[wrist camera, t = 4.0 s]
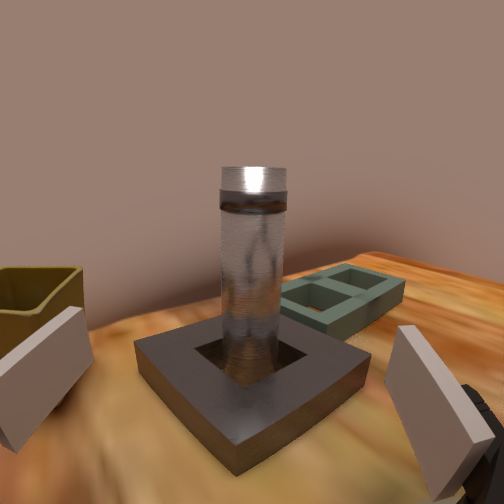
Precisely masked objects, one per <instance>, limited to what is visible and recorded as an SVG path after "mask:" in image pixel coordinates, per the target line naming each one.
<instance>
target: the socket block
mask: <svg viewBox="0 0 504 504" xmlns="http://www.w3.org/2000/svg"><path fill="white" fill-rule="evenodd" d="M134 347H135V353H136V359H137V364H138V369H139V372H140V374H141V375H142V376H143V377H144V379H145V380H146V381H147V382H148V384H149V385H150V386H151V387H152V388H153V390H154V391H155V392H156V393H157V394H158V396H159V397H160V398H161V399H162V400H163V402H164V403H165V404H166V405H167V406H168V407H169V408H170V410H171V411H172V412H173V413H174V414H175V415H176V416H177V417H178V419H179V420H180V421H181V422H182V423H183V424H184V425H185V426H186V427H187V428H188V429H189V431H190V432H191V433H192V434H193V435H194V436H195V437H196V438H197V439H198V440H199V441H200V442H201V443H202V444H203V445H204V446H205V447H206V448H207V449H208V450H209V451H210V452H211V453H212V454H213V455H214V456H215V457H216V458H217V459H218V460H219V461H220V462H221V463H222V464H223V465H224V466H225V467H227V468H228V469H229V470H230V471H231V472H232V473H233V474H234V475H235V476H238V475H240V474H241V473H243V472H245V471H246V470H248V469H250V468H251V467H253V466H255V465H256V464H258V463H260V462H261V461H263V460H264V459H266V458H268V457H269V456H271V455H272V454H274V453H275V452H277V451H278V450H280V449H281V448H283V447H284V446H286V445H287V444H289V443H290V442H292V441H293V440H294V439H296V438H297V437H299V436H300V435H302V434H303V433H304V432H306V431H307V430H308V429H310V428H311V427H313V426H314V425H315V424H317V423H318V422H319V421H321V420H322V419H323V418H325V417H326V416H327V415H328V414H330V413H331V412H332V411H334V410H335V409H336V408H337V407H339V406H340V405H341V404H342V403H343V402H345V401H346V400H347V399H348V398H350V397H351V396H352V395H353V394H354V393H356V392H357V391H358V390H359V389H360V388H361V387H363V386H364V384H365V381H366V377H367V372H368V368H369V364H370V360H371V355H372V354H370V353H368V352H366V351H363V350H361V349H358V348H356V347H354V346H351V345H349V344H347V343H344V342H342V341H340V340H338V339H335V338H333V337H331V336H328V335H326V334H324V333H322V332H319V331H317V330H315V329H313V328H310V327H308V326H306V325H304V324H301V323H299V322H297V321H295V320H293V319H290V318H288V317H286V316H284V315H282V314H280V322H279V338H278V353H277V367H276V370H278V371H277V372H275V373H273V374H271V375H269V376H267V377H266V378H264V379H262V380H260V381H258V382H256V383H254V384H252V385H250V386H248V387H246V388H244V387H243V386H241V385H240V384H239V383H237V382H236V381H235V380H233V379H232V378H231V377H229V376H228V375H227V374H225V373H224V372H223V371H221V369H223V348H222V315H219V316H216V317H213V318H210V319H207V320H203V321H200V322H197V323H194V324H190V325H187V326H184V327H180V328H177V329H174V330H170V331H167V332H164V333H160V334H157V335H153V336H150V337H146V338H143V339H139V340H136V341H134Z"/></svg>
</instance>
